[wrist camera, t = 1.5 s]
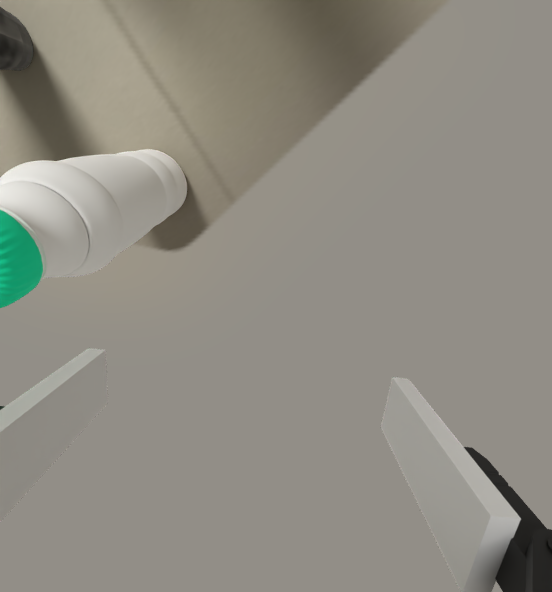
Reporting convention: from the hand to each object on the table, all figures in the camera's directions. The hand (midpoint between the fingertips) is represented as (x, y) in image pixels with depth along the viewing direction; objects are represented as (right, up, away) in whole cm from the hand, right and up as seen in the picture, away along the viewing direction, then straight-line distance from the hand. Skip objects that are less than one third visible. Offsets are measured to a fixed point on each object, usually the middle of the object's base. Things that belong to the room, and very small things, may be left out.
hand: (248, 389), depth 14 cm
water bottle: (-12, +17, +21) cm, 29 cm away
